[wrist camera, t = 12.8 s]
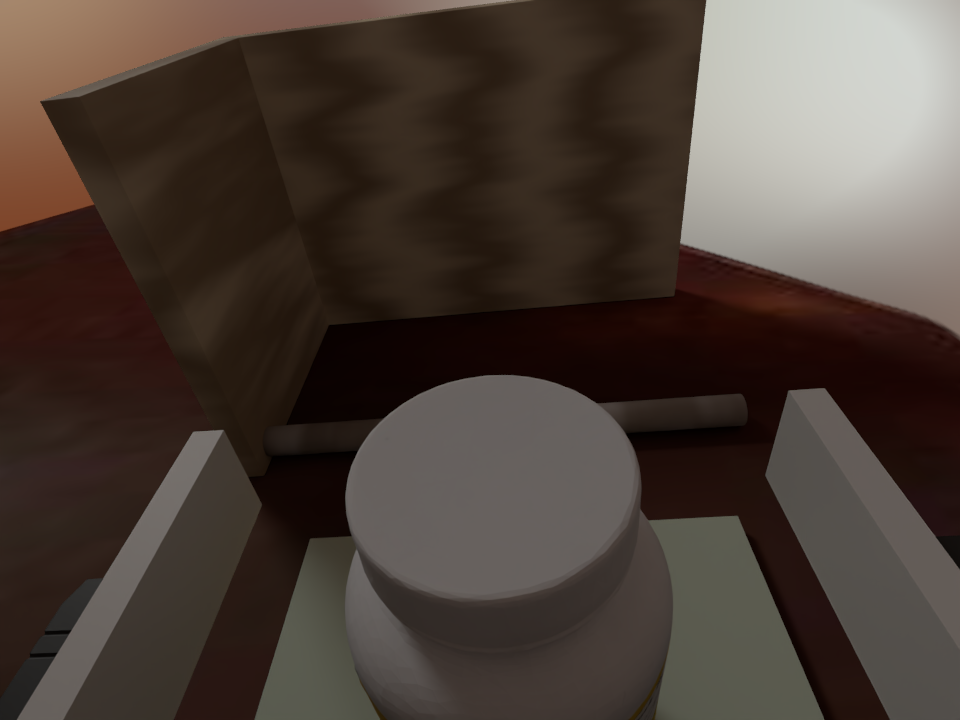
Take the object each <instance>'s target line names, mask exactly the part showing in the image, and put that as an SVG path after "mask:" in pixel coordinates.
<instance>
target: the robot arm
mask: <svg viewBox="0 0 960 720" xmlns="http://www.w3.org/2000/svg"><path fill="white" fill-rule="evenodd" d="M765 476H766V478H767V480H768V482H769V484H770V486H771V487H772V489H773V491H774V493H775V495H776V497H777V499H778V501H779V503H780V505H781V507H782V509H783V511H784V513H785V515H786V517H787V519H788V521H789V523H790V525H791V527H792V529H793V530H794V532H795V534H796V536H797V538H798V540H799V542H800V544H801V546H802V548H803V550H804V552H805V554H806V556H807V558H808V560H809V562H810V564H811V566H812V568H813V570H814V572H815V573H816V575H817V577H818V579H819V581H820V583H821V585H822V587H823V589H824V591H825V593H826V595H827V597H828V599H829V601H830V603H831V605H832V607H833V609H834V611H835V613H836V615H837V616H838V618H839V620H840V622H841V624H842V626H843V628H844V630H845V632H846V634H847V636H848V638H849V640H850V642H851V644H852V646H853V648H854V650H855V652H856V654H857V656H858V658H859V659H860V661H861V663H862V665H863V667H864V669H865V671H866V673H867V675H868V677H869V679H870V681H871V683H872V685H873V687H874V689H875V691H876V693H877V695H878V697H879V699H880V701H881V702H882V704H883V706H884V708H885V710H886V712H887V714H888V716H889V718H890V720H960V536H940V537H935V536H934V534H933V533H932V532H931V530H930V529H929V528H928V526H927V525H926V524H925V522H924V521H923V520H922V518H921V517H920V515H919V514H918V513H917V511H916V510H915V509H914V507H913V506H912V505H911V503H910V502H909V501H908V499H907V498H906V497H905V495H904V494H903V493H902V491H901V490H900V489H899V487H898V486H897V485H896V483H895V482H894V481H893V479H892V478H891V477H890V475H889V474H888V473H887V471H886V470H885V469H884V467H883V466H882V464H881V463H880V462H879V460H878V459H877V458H876V456H875V455H874V454H873V452H872V451H871V450H870V448H869V447H868V446H867V444H866V443H865V442H864V440H863V439H862V438H861V436H860V435H859V434H858V432H857V431H856V430H855V428H854V427H853V426H852V424H851V423H850V422H849V420H848V419H847V418H846V416H845V415H844V414H843V412H842V411H841V409H840V408H839V407H838V405H837V404H836V403H835V401H834V400H833V399H832V397H831V396H830V395H829V393H828V392H827V391H826V389H825V388H819V389H805V390H790V391H788V395H787V398H786V402H785V406H784V409H783V413H782V416H781V420H780V424H779V427H778V431H777V435H776V438H775V442H774V446H773V449H772V453H771V456H770V460H769V464H768V467H767V471H766V475H765ZM261 506H262V503H261V502H260V500H259V498H258V496H257V494H256V492H255V490H254V488H253V486H252V484H251V482H250V480H249V478H248V476H247V474H246V472H245V470H244V468H243V467H242V465H241V463H240V461H239V459H238V457H237V455H236V453H235V451H234V449H233V447H232V445H231V443H230V441H229V439H228V437H227V435H226V433H225V432H224V430H216V431H201V432H193V433H192V435H191V437H190V438H189V440H188V442H187V443H186V445H185V446H184V448H183V450H182V451H181V453H180V455H179V456H178V458H177V459H176V461H175V463H174V464H173V466H172V468H171V469H170V471H169V472H168V474H167V476H166V477H165V479H164V481H163V482H162V484H161V486H160V487H159V489H158V490H157V492H156V494H155V495H154V497H153V499H152V500H151V502H150V503H149V505H148V507H147V508H146V510H145V512H144V513H143V515H142V516H141V518H140V520H139V521H138V523H137V525H136V526H135V528H134V530H133V531H132V533H131V534H130V536H129V538H128V539H127V541H126V543H125V544H124V546H123V547H122V549H121V551H120V552H119V554H118V556H117V557H116V559H115V560H114V562H113V564H112V565H111V567H110V569H109V570H108V572H107V574H106V575H105V577H104V578H103V579H87V580H86V581H85V582H84V583H83V584H82V585H81V586H80V587H79V588H78V589H77V590H76V591H75V592H74V593H73V594H72V595H71V596H70V597H69V598H68V599H67V600H66V601H65V602H64V603H63V604H62V605H61V607H60V608H59V610H58V611H57V613H56V614H55V616H54V617H53V619H52V620H51V622H50V624H49V625H48V627H47V628H46V630H45V635H44V636H41V637H40V639H39V640H38V642H37V643H36V645H35V647H34V648H33V650H32V651H31V653H30V658H29V659H26V660H25V662H24V663H23V665H22V666H21V668H20V670H19V671H18V673H17V674H16V676H15V677H14V679H13V680H12V682H11V683H10V685H9V686H8V688H7V689H6V691H5V693H4V694H3V696H2V697H1V699H0V720H174V718H175V715H176V713H177V710H178V708H179V705H180V703H181V701H182V698H183V696H184V693H185V691H186V688H187V686H188V684H189V681H190V679H191V676H192V674H193V671H194V669H195V667H196V664H197V662H198V659H199V657H200V654H201V652H202V650H203V647H204V645H205V642H206V640H207V637H208V635H209V633H210V630H211V628H212V625H213V623H214V620H215V618H216V616H217V613H218V611H219V608H220V606H221V603H222V601H223V599H224V596H225V594H226V591H227V589H228V586H229V584H230V582H231V579H232V577H233V574H234V572H235V569H236V567H237V565H238V562H239V560H240V557H241V555H242V552H243V550H244V548H245V545H246V543H247V540H248V538H249V535H250V533H251V531H252V528H253V526H254V523H255V521H256V518H257V516H258V514H259V511H260V509H261Z"/></svg>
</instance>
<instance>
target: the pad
mask: <svg viewBox="0 0 960 720" xmlns="http://www.w3.org/2000/svg"><path fill="white" fill-rule="evenodd" d="M649 523H650V525H651V527H652V528H653V530H654V532H655V534H656V535H657V537H658V539H659V542H660V544H661V546H662V549H663V551H664V554H665V558H666V561H667V564H668V568H669V572H670V577H671V584H672V592H673V620H672V631H671V638H670V644H669V650H668V654H667V660H666V664H665V669H664V674H663V678H662V683H661V688H660V694H659V699H658V704H657V709H656V716H655V720H824V717H823V715H822V713H821V710H820V708H819V706H818V703H817V701H816V699H815V696H814V694H813V692H812V689H811V687H810V685H809V682H808V680H807V678H806V675H805V673H804V670H803V668H802V666H801V663H800V661H799V659H798V656H797V654H796V652H795V649H794V647H793V645H792V642H791V640H790V638H789V635H788V633H787V631H786V628H785V626H784V624H783V621H782V619H781V617H780V614H779V612H778V610H777V607H776V605H775V603H774V600H773V598H772V596H771V593H770V591H769V588H768V586H767V584H766V581H765V579H764V577H763V574H762V572H761V570H760V567H759V565H758V563H757V560H756V558H755V556H754V553H753V551H752V549H751V546H750V544H749V542H748V539H747V537H746V535H745V532H744V530H743V528H742V525H741V523H740V521H739V518H738V516H726V517H707V518H689V519H670V520H651V521H649ZM356 549H357V548H356V546H355V543H354V541H353V538H352V536H349V537H330V538H312V539H310V541H309V544H308V548H307V551H306V554H305V557H304V561H303V564H302V567H301V570H300V574H299V577H298V580H297V583H296V587H295V590H294V593H293V596H292V600H291V603H290V606H289V609H288V613H287V616H286V619H285V622H284V626H283V629H282V632H281V635H280V639H279V642H278V645H277V648H276V652H275V655H274V658H273V661H272V665H271V668H270V671H269V674H268V678H267V681H266V684H265V687H264V691H263V694H262V697H261V701H260V704H259V707H258V710H257V714H256V717H255V720H380V718H379V716H378V715H377V713H376V711H375V709H374V707H373V705H372V703H371V701H370V699H369V697H368V695H367V693H366V692H365V690H364V688H363V687H362V685H361V683H360V680H359V677H358V674H357V672H356V670H355V665H354V661H353V658H352V654H351V651H350V647H349V643H348V638H347V630H346V619H345V595H346V585H347V580H348V575H349V571H350V567H351V563H352V560H353V557H354V554H355V551H356Z"/></svg>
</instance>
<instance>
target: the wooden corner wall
mask: <svg viewBox="0 0 960 720" xmlns="http://www.w3.org/2000/svg"><path fill="white" fill-rule="evenodd" d="M705 6H706V0H514V1H506V2H498V3H491V4H483V5H476V6H467V7H459V8H452V9H443V10H436V11H428V12H420V13H412V14H405V15H396V16H389V17H380V18H373V19H365V20H357V21H350V22H341V23H333V24H326V25H317V26H310V27H302V28H294V29H286V30H278V31H270V32H262V33H255V34H247V35H239V36H231V37H223V38H220V39H218V40H215V41H212V42H209V43H206V44H203V45H200V46H197V47H195V48H192V49H189V50H186V51H183V52H181V53H177V54H175V55H172V56H169V57H166V58H163V59H160V60H157V61H154V62H152V63H149V64H146V65H143V66H140V67H137V68H134V69H132V70H129V71H126V72H123V73H120V74H117V75H115V76H112V77H109V78H106V79H103V80H100V81H97V82H94V83H92V84H89V85H86V86H83V87H80V88H77V89H74V90H71V91H68V92H66V93H63V94H60V95H57V96H54V97H51V98H48V99H46V100H43V101H40V102H41V104H42V106H43V108H44V110H45V111H46V113H47V115H48V117H49V119H50V121H51V123H52V125H53V127H54V128H55V130H56V132H57V134H58V136H59V138H60V140H61V142H62V144H63V145H64V147H65V149H66V151H67V153H68V155H69V157H70V159H71V161H72V162H73V164H74V166H75V168H76V170H77V172H78V174H79V176H80V178H81V180H82V182H83V183H84V185H85V187H86V189H87V191H88V193H89V195H90V197H91V199H92V200H93V202H94V204H95V206H96V208H97V210H98V212H99V214H100V216H101V218H102V219H103V221H104V223H105V225H106V227H107V229H108V231H109V233H110V235H111V236H112V238H113V240H114V242H115V244H116V246H117V248H118V250H119V252H120V253H121V255H122V257H123V259H124V261H125V263H126V265H127V267H128V269H129V271H130V272H131V274H132V276H133V278H134V280H135V282H136V284H137V286H138V288H139V289H140V291H141V293H142V295H143V297H144V299H145V301H146V303H147V305H148V306H149V308H150V310H151V312H152V314H153V316H154V318H155V320H156V322H157V323H158V325H159V327H160V329H161V331H162V333H163V335H164V337H165V339H166V341H167V342H168V344H169V346H170V348H171V350H172V352H173V354H174V356H175V358H176V359H177V361H178V363H179V365H180V367H181V369H182V371H183V373H184V375H185V376H186V378H187V380H188V382H189V384H190V386H191V388H192V390H193V392H194V394H195V395H196V397H197V399H198V401H199V403H200V405H201V407H202V409H203V411H204V412H205V414H206V416H207V418H208V420H209V422H210V424H211V426H212V428H213V429H214V431H216V430H224V432H225V433H226V435H227V437H228V439H229V441H230V443H231V445H232V447H233V449H234V451H235V453H236V455H237V457H238V459H239V461H240V463H241V465H242V467H243V468H244V470H245V472H246V474H247V476H248V477H255V476H264V475H265V473H266V471H267V468H268V466H269V464H270V461H271V459H272V457H273V456H286V455H301V454H317V453H332V452H347V451H358V450H359V449H360V447H361V446H362V444H363V442H364V441H365V439H366V438H367V436H368V435H369V434H370V432H371V431H372V430H373V429H374V428H375V427H376V426H377V425H378V424H379V423H380V422H381V421H382V420H383V419H384V418H383V419H368V420H354V421H340V422H325V423H311V424H297V425H286V424H287V422H288V420H289V417H290V415H291V413H292V410H293V408H294V406H295V403H296V401H297V399H298V396H299V394H300V392H301V389H302V387H303V385H304V382H305V380H306V378H307V375H308V373H309V371H310V368H311V366H312V364H313V361H314V359H315V357H316V354H317V352H318V350H319V347H320V345H321V343H322V340H323V338H324V336H325V333H326V331H327V329H328V326H329V325H336V324H348V323H360V322H372V321H384V320H396V319H407V318H419V317H431V316H443V315H455V314H467V313H479V312H491V311H503V310H515V309H527V308H539V307H551V306H563V305H575V304H587V303H599V302H611V301H623V300H634V299H646V298H658V297H670V296H674V295H675V286H676V276H677V267H678V258H679V248H680V239H681V229H682V220H683V211H684V202H685V192H686V183H687V173H688V165H689V154H690V146H691V137H692V127H693V118H694V109H695V99H696V90H697V80H698V71H699V62H700V53H701V44H702V34H703V25H704V16H705ZM598 405H599V406H600V407H602V408H603V409H604V410H605V411H606V412H608V413H609V414H610V415H611V416H612V417H613V418H614V419H615V421H616V422H617V423H618V424H619V425H620V426H621V428H622V429H623V431H624V432H625V433H638V432H654V431H669V430H684V429H700V428H715V427H730V426H744V425H745V424H746V422H747V417H748V411H747V404H746V401H745V399H744V397H743V395H742V394H727V395H713V396H698V397H684V398H670V399H655V400H641V401H627V402H612V403H598Z"/></svg>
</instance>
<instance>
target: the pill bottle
mask: <svg viewBox="0 0 960 720" xmlns="http://www.w3.org/2000/svg"><path fill="white" fill-rule="evenodd" d="M640 501H641V476H640V468H639V464H638V460H637V457H636V453H635V451H634V448H633V446H632V444H631V442H630V440H629V439H628V437H627V435H626V434H625V432H624V431H623V429H622V428H621V426H620V425H619V424H618V423H617V422H616V421H615V419H614V418H613V417H612V416H611V415H610V414H609V413H608V412H606V411H605V410H604V409H603V408H602V407H600V406H599V405H598V404H597V403H595V402H594V401H592V400H591V399H589V398H587V397H586V396H584V395H582V394H580V393H578V392H577V391H575V390H572V389H570V388H567V387H564V386H562V385H559V384H557V383H553V382H549V381H546V380H542V379H537V378H531V377H524V376H515V375H487V376H479V377H473V378H467V379H462V380H458V381H453V382H449V383H446V384H443V385H440V386H437V387H435V388H432V389H430V390H428V391H426V392H423V393H421V394H419V395H417V396H415V397H414V398H412V399H410V400H408V401H407V402H405V403H403V404H402V405H401V406H399V407H398V408H397V409H395V410H394V411H393V412H391V413H390V414H389V415H387V416H386V417H385V418H384V419H383V420H382V421H381V422H380V423H379V424H378V425H377V426H376V427H375V428H374V429H373V430H372V431H371V432H370V434H369V435H368V436H367V438H366V439H365V441H364V442H363V444H362V446H361V447H360V449H359V450H358V452H357V455H356V457H355V459H354V461H353V463H352V466H351V469H350V472H349V476H348V480H347V487H346V494H345V502H346V515H347V519H348V524H349V528H350V532H351V535H352V538H353V541H354V543H355V546H356V548H357V549H356V551H355V554H354V557H353V560H352V563H351V567H350V571H349V575H348V580H347V585H346V595H345V619H346V630H347V638H348V643H349V647H350V651H351V654H352V658H353V661H354V665H355V670H356V672H357V674H358V677H359V680H360V683H361V685H362V687H363V688H364V690H365V692H366V693H367V695H368V697H369V699H370V701H371V703H372V705H373V707H374V709H375V711H376V713H377V715H378V716H379V718H380V720H655V716H656V709H657V704H658V699H659V694H660V688H661V683H662V678H663V674H664V669H665V664H666V660H667V654H668V650H669V644H670V638H671V631H672V620H673V592H672V584H671V577H670V572H669V568H668V564H667V561H666V558H665V554H664V551H663V549H662V546H661V544H660V542H659V539H658V537H657V535H656V534H655V532H654V530H653V528H652V527H651V525H650V523H649V521H648V520H647V518H646V517H645V515H644V514H643V512H642V511H641V510H640Z"/></svg>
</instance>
